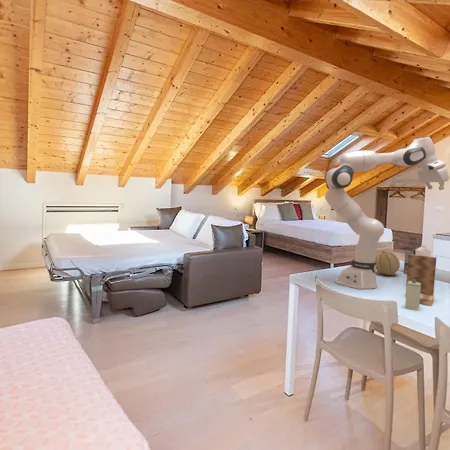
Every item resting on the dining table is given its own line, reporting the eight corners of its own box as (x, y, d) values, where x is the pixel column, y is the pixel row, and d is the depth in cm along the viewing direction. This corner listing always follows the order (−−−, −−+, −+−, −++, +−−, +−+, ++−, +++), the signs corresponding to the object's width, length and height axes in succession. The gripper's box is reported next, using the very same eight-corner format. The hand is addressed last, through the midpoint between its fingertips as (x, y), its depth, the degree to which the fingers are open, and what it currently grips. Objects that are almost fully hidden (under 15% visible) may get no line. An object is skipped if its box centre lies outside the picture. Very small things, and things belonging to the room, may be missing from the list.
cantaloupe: (399, 279, 210) (400, 254, 208) (373, 276, 216) (374, 252, 214) (398, 273, 223) (400, 250, 221) (374, 270, 229) (375, 248, 227)
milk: (417, 282, 202) (420, 246, 199) (413, 279, 208) (415, 244, 205) (428, 283, 201) (431, 246, 199) (423, 280, 207) (426, 244, 205)
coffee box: (413, 276, 217) (415, 251, 215) (403, 273, 221) (405, 249, 219) (419, 273, 223) (421, 249, 221) (409, 271, 227) (410, 247, 225)
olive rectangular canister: (405, 308, 161) (407, 279, 159) (407, 305, 165) (409, 277, 163) (417, 310, 158) (419, 281, 156) (419, 307, 162) (421, 279, 160)
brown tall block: (402, 300, 171) (405, 257, 169) (408, 292, 184) (411, 252, 181) (430, 306, 164) (434, 261, 161) (436, 297, 176) (439, 255, 173)
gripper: (412, 167, 196) (418, 190, 198) (436, 166, 176) (443, 192, 178) (422, 163, 196) (429, 186, 198) (447, 162, 176) (454, 187, 178)
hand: (436, 189), depth 188 cm, fingers open, 8 cm apart
